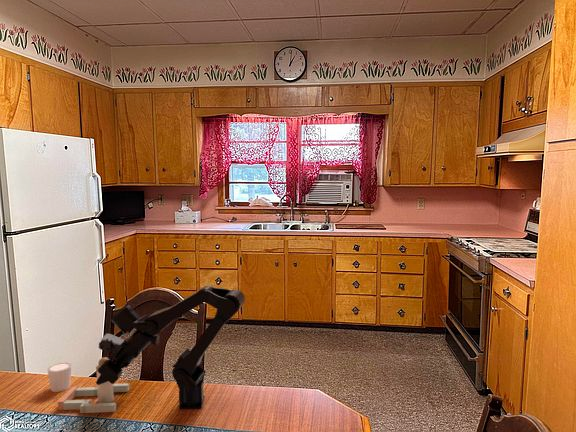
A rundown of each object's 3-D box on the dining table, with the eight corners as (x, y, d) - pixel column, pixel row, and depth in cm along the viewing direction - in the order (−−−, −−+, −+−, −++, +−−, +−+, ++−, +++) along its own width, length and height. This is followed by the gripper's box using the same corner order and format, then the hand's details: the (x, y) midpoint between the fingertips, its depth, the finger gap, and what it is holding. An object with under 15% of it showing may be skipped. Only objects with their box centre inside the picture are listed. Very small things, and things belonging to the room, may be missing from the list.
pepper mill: (116, 396, 127) (114, 354, 126) (110, 404, 123) (108, 360, 121) (101, 396, 127) (99, 354, 126) (95, 404, 122) (93, 361, 121)
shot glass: (43, 389, 131) (42, 368, 131) (64, 380, 137) (63, 360, 137) (57, 394, 128) (55, 373, 128) (77, 385, 134) (76, 364, 134)
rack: (129, 389, 131) (129, 381, 131) (114, 411, 119) (114, 403, 118) (75, 390, 131) (75, 383, 130) (54, 413, 118) (54, 405, 117)
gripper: (126, 316, 132) (93, 349, 133) (103, 338, 114) (65, 377, 114) (151, 338, 133) (118, 372, 134) (133, 364, 115) (95, 403, 115)
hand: (100, 379), depth 124 cm, fingers closed on pepper mill, 4 cm apart
